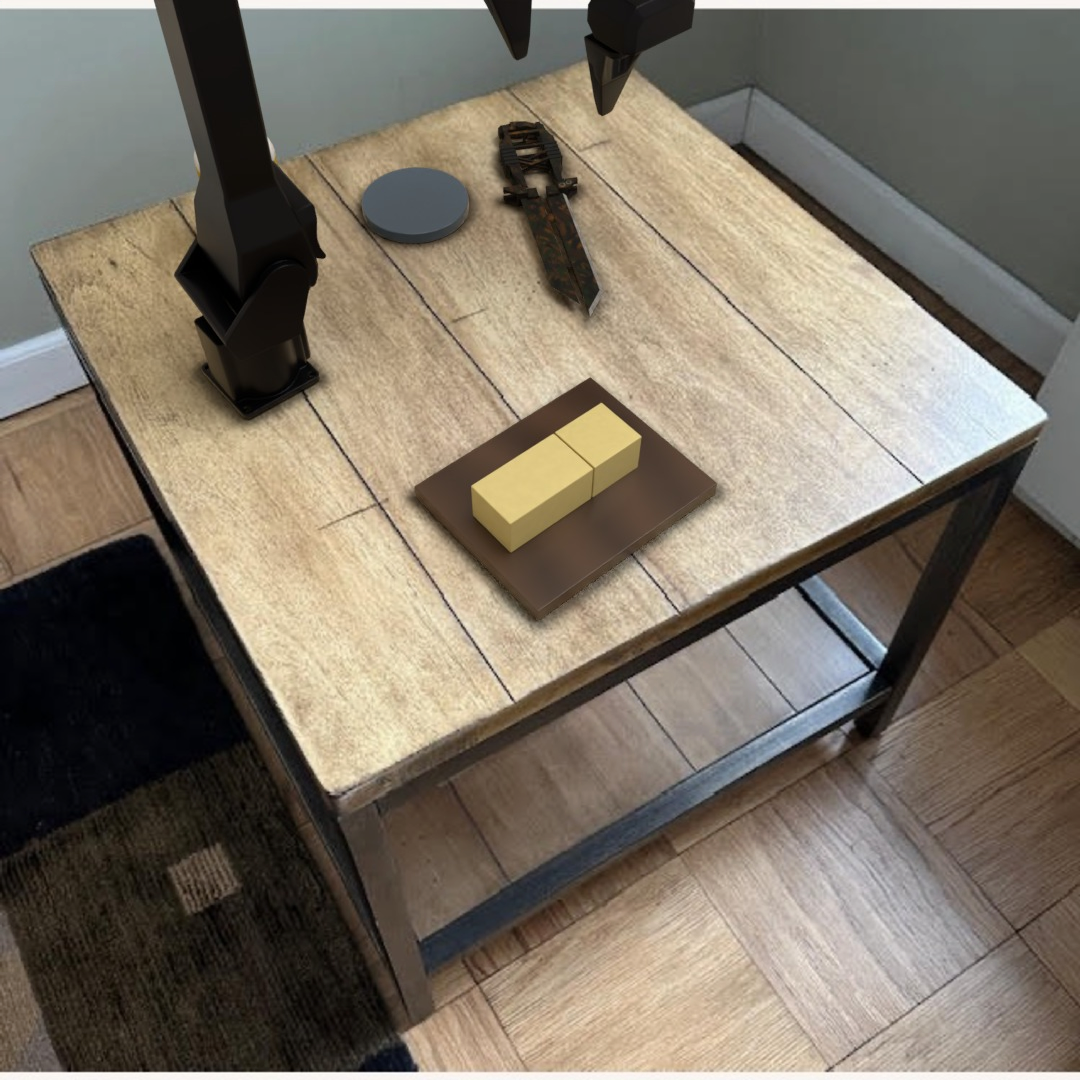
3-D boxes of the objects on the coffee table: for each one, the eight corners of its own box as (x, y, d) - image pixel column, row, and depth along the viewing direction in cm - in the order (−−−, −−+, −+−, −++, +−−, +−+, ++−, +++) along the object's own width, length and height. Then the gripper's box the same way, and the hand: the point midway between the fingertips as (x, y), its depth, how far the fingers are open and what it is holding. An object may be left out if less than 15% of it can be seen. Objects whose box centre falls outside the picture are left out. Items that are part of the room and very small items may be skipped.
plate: (404, 258, 89) (403, 248, 89) (341, 204, 93) (340, 194, 93) (490, 213, 93) (490, 203, 92) (426, 163, 97) (425, 153, 96)
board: (537, 621, 69) (537, 611, 68) (415, 497, 75) (413, 486, 74) (715, 494, 75) (717, 483, 74) (589, 388, 81) (590, 376, 80)
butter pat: (592, 498, 74) (594, 467, 71) (553, 462, 75) (554, 432, 73) (638, 467, 75) (641, 436, 73) (599, 433, 77) (601, 402, 74)
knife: (608, 320, 85) (609, 307, 84) (526, 327, 85) (526, 314, 84) (561, 129, 100) (562, 115, 99) (491, 134, 99) (491, 120, 98)
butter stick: (510, 553, 71) (510, 524, 68) (472, 515, 73) (470, 485, 70) (591, 498, 74) (593, 468, 71) (552, 463, 75) (553, 432, 73)
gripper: (773, -137, 66) (732, 101, 78) (565, -233, 74) (558, -4, 86) (640, -81, 61) (619, 161, 74) (435, -190, 69) (447, 45, 82)
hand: (561, 84), depth 79 cm, fingers open, 9 cm apart
